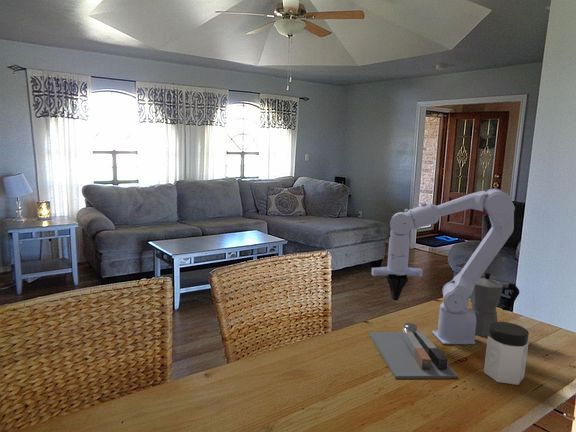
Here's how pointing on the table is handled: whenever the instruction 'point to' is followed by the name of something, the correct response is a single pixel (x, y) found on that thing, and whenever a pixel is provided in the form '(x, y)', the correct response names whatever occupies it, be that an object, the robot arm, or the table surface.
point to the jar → (506, 352)
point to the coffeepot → (489, 302)
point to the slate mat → (404, 358)
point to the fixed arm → (432, 350)
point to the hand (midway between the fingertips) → (394, 299)
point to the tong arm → (415, 346)
